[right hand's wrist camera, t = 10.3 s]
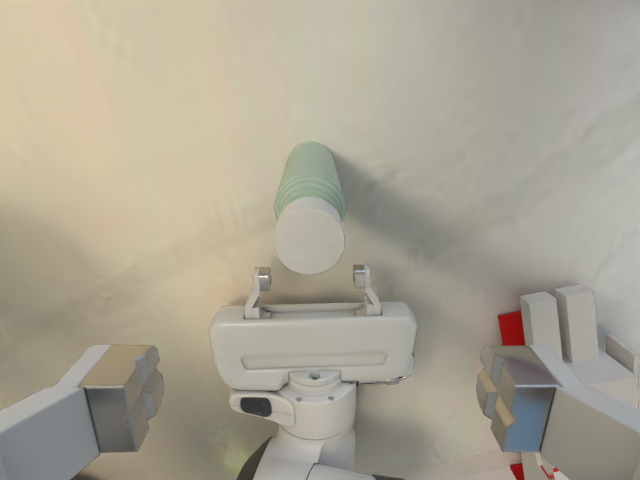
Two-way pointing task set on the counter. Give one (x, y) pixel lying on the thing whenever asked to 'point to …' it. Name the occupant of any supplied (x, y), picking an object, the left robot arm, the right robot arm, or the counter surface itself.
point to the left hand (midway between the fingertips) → (311, 268)
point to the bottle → (310, 178)
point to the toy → (571, 354)
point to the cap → (309, 236)
